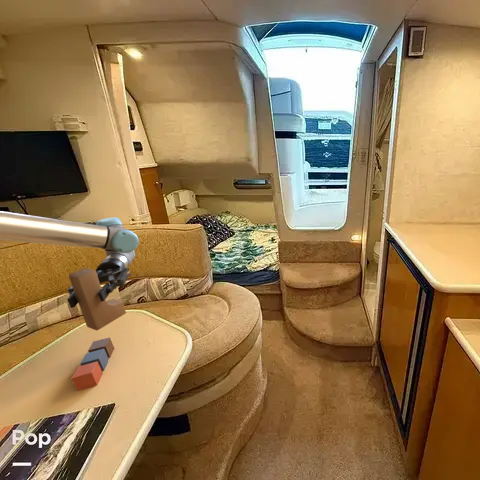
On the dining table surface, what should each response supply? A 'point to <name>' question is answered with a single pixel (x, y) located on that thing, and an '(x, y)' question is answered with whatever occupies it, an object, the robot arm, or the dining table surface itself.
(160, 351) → the dining table surface
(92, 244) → the robot arm
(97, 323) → the wooden block
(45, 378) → the dining table surface
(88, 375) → the cube row
